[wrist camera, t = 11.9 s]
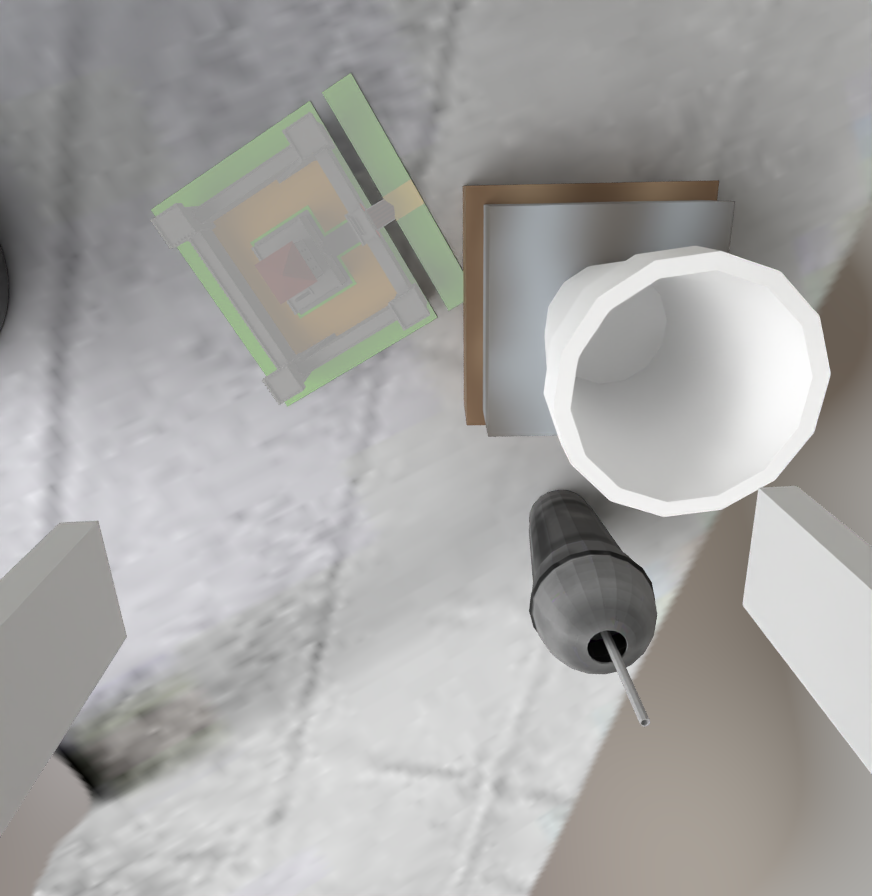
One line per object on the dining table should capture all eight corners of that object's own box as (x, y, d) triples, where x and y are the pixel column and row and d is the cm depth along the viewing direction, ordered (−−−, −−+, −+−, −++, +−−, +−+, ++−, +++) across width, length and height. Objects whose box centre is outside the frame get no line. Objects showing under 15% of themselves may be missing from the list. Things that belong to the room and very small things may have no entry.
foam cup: (675, 418, 38) (787, 526, 26) (506, 405, 38) (539, 507, 25) (712, 237, 35) (862, 262, 22) (528, 222, 34) (578, 238, 22)
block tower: (464, 402, 48) (470, 453, 39) (462, 186, 43) (469, 185, 34) (666, 398, 48) (722, 449, 39) (688, 181, 43) (758, 179, 34)
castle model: (154, 209, 44) (101, 213, 37) (352, 74, 41) (334, 51, 34) (289, 403, 49) (264, 439, 42) (475, 293, 46) (482, 312, 39)
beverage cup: (567, 452, 49) (646, 613, 31) (629, 520, 51) (739, 712, 32) (489, 515, 51) (519, 703, 32) (552, 578, 53) (615, 792, 34)
